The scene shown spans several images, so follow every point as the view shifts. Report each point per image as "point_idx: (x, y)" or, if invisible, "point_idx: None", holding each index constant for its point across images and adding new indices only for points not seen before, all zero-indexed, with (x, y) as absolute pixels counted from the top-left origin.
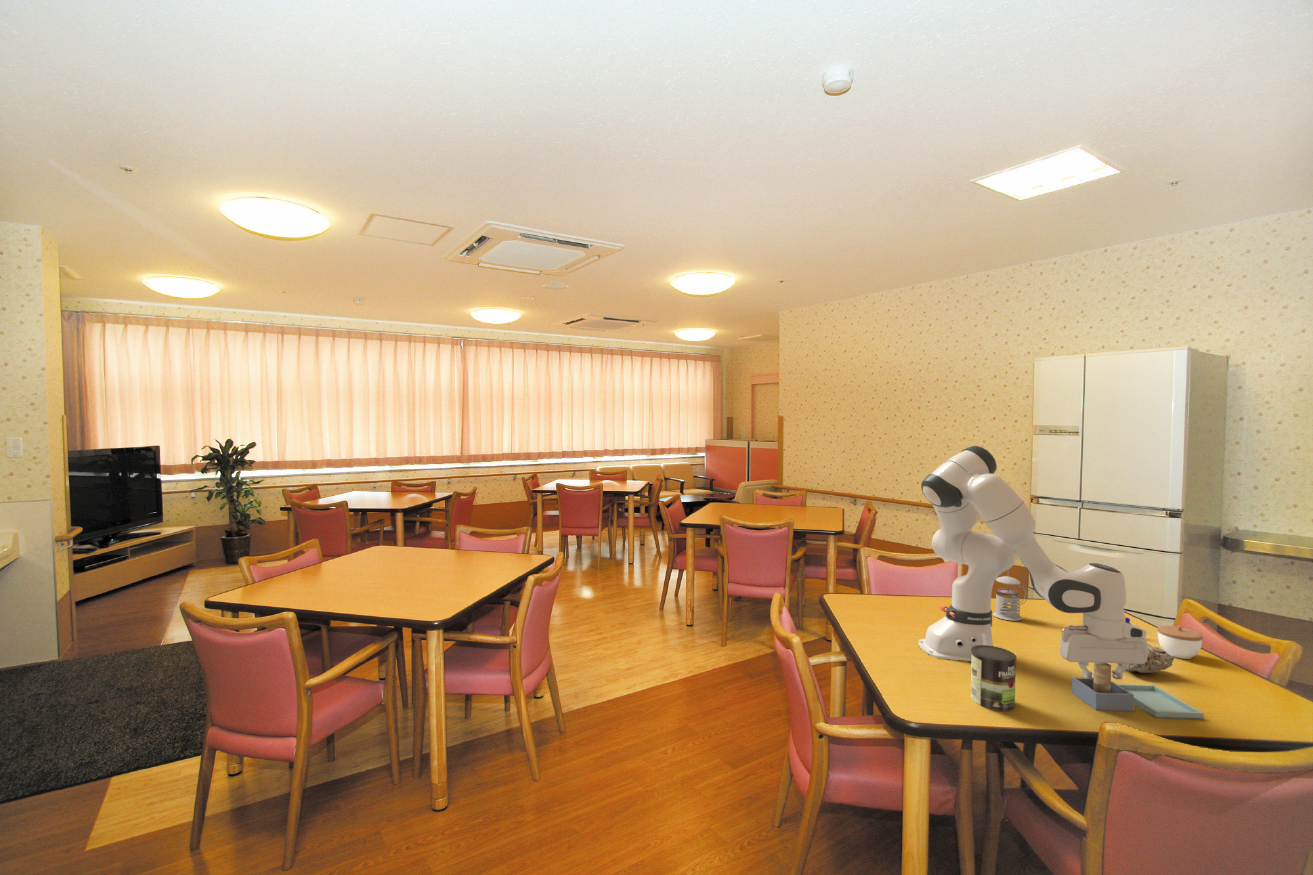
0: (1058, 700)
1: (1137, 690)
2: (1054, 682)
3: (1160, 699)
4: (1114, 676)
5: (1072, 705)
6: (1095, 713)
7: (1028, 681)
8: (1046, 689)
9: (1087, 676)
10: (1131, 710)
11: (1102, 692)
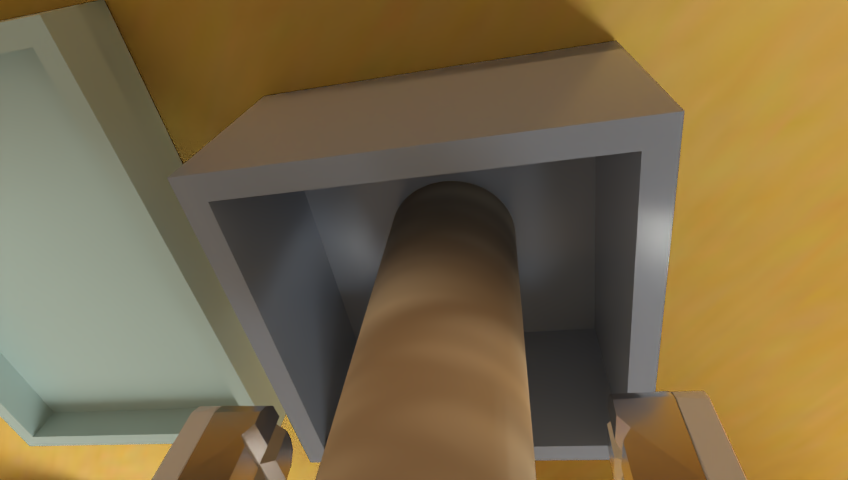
0: (804, 235)
1: (140, 404)
2: (596, 461)
3: (24, 317)
4: (271, 445)
5: (744, 161)
6: (626, 27)
7: (781, 462)
8: (742, 384)
9: (702, 412)
10: (267, 103)
11: (475, 252)
